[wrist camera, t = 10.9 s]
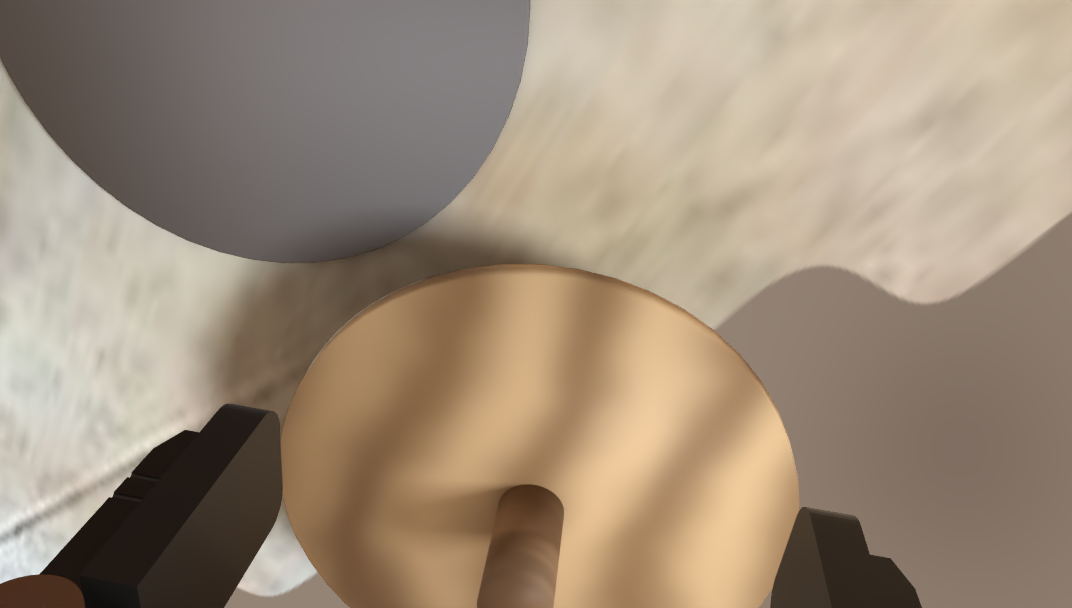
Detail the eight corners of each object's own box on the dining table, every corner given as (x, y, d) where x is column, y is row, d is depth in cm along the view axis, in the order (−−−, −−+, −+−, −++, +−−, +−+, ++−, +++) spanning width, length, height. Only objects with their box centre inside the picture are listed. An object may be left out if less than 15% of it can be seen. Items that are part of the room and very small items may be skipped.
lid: (871, 324, 34) (926, 424, 27) (717, 705, 45) (731, 838, 39) (290, 215, 34) (212, 288, 28) (285, 618, 46) (230, 735, 40)
